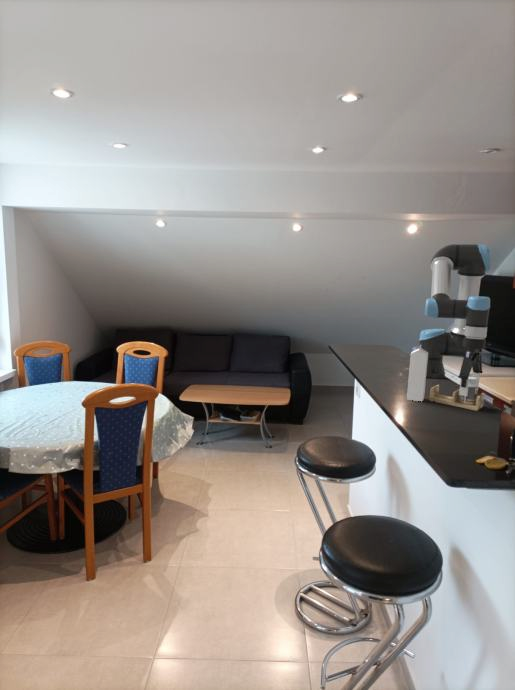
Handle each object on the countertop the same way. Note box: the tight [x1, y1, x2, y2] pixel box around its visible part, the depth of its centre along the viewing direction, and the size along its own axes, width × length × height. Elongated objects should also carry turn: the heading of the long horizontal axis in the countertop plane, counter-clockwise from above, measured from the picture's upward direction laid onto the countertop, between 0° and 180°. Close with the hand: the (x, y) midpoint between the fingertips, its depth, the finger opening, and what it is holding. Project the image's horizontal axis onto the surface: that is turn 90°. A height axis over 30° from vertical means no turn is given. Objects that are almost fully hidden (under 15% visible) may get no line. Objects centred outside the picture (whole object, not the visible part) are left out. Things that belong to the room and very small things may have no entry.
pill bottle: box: [460, 376, 479, 404], centre depth 173 cm, size 6×6×10 cm
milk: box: [406, 345, 428, 403], centre depth 179 cm, size 6×6×22 cm
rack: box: [428, 384, 485, 411], centre depth 176 cm, size 8×18×5 cm, turn 49°
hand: (468, 392), depth 173 cm, fingers open, 13 cm apart
